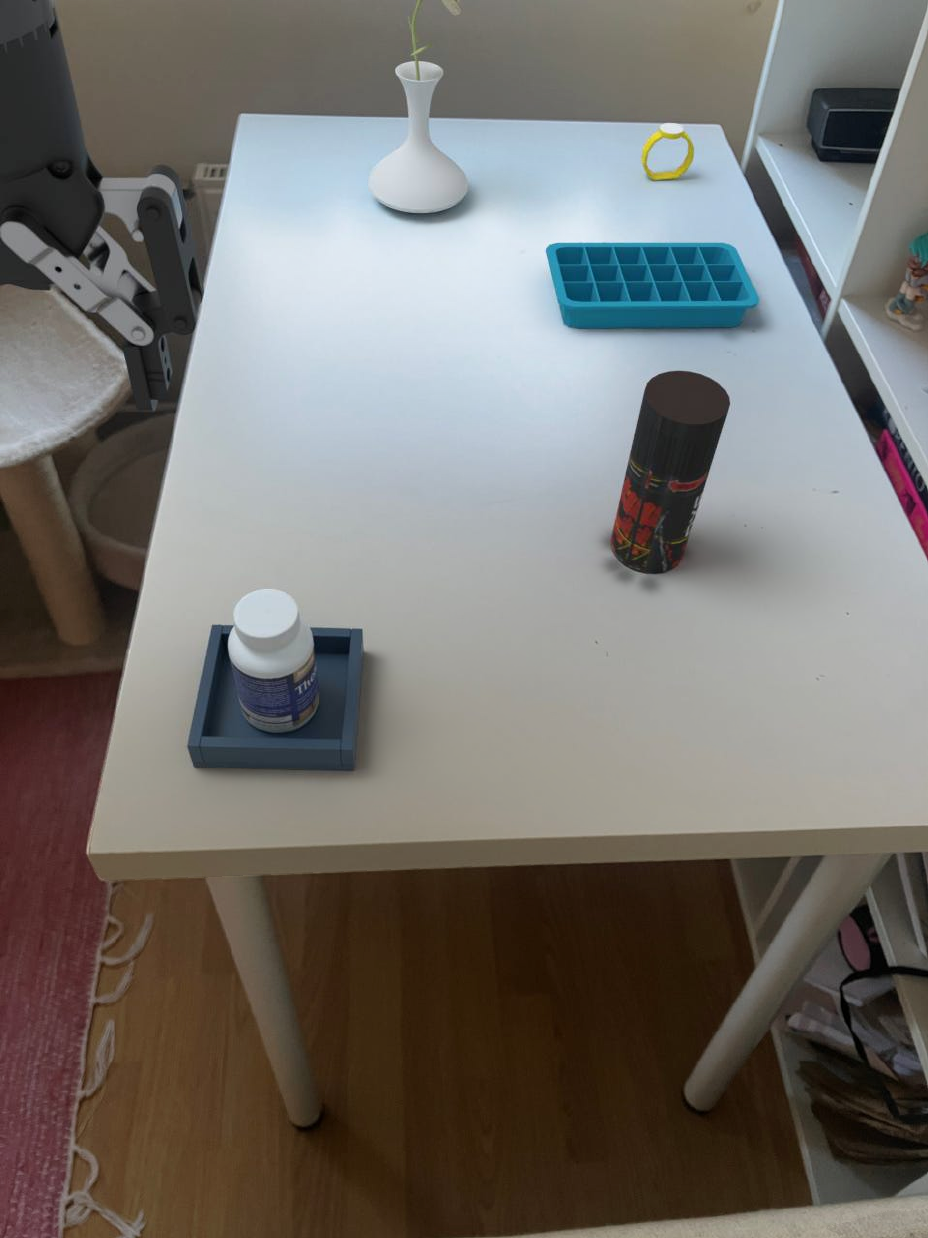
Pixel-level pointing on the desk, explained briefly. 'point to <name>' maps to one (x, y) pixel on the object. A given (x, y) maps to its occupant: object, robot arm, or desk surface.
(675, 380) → the deodorant
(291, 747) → the tray
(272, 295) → the desk surface
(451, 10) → the flower in vase
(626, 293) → the ice cube tray
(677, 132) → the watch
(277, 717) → the pill bottle
